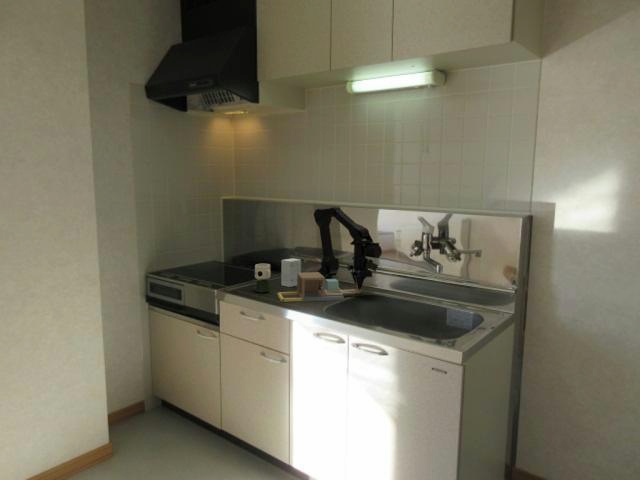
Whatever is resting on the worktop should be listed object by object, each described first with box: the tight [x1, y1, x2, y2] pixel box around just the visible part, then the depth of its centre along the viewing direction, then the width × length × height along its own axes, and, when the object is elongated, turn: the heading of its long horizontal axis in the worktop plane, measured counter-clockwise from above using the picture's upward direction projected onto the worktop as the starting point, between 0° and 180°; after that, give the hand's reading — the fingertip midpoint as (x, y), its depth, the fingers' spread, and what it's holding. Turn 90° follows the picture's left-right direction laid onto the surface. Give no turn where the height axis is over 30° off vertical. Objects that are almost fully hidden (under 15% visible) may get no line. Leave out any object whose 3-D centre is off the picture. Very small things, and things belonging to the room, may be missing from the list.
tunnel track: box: [277, 271, 345, 303], centre depth 209 cm, size 12×28×10 cm, turn 104°
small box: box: [280, 258, 302, 288], centre depth 233 cm, size 8×6×13 cm
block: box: [325, 278, 340, 291], centre depth 211 cm, size 5×5×5 cm
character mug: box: [254, 263, 272, 294], centre depth 217 cm, size 11×7×13 cm, turn 46°
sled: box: [320, 283, 362, 296], centre depth 212 cm, size 8×18×6 cm, turn 104°
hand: (358, 288), depth 214 cm, fingers closed on sled, 2 cm apart
